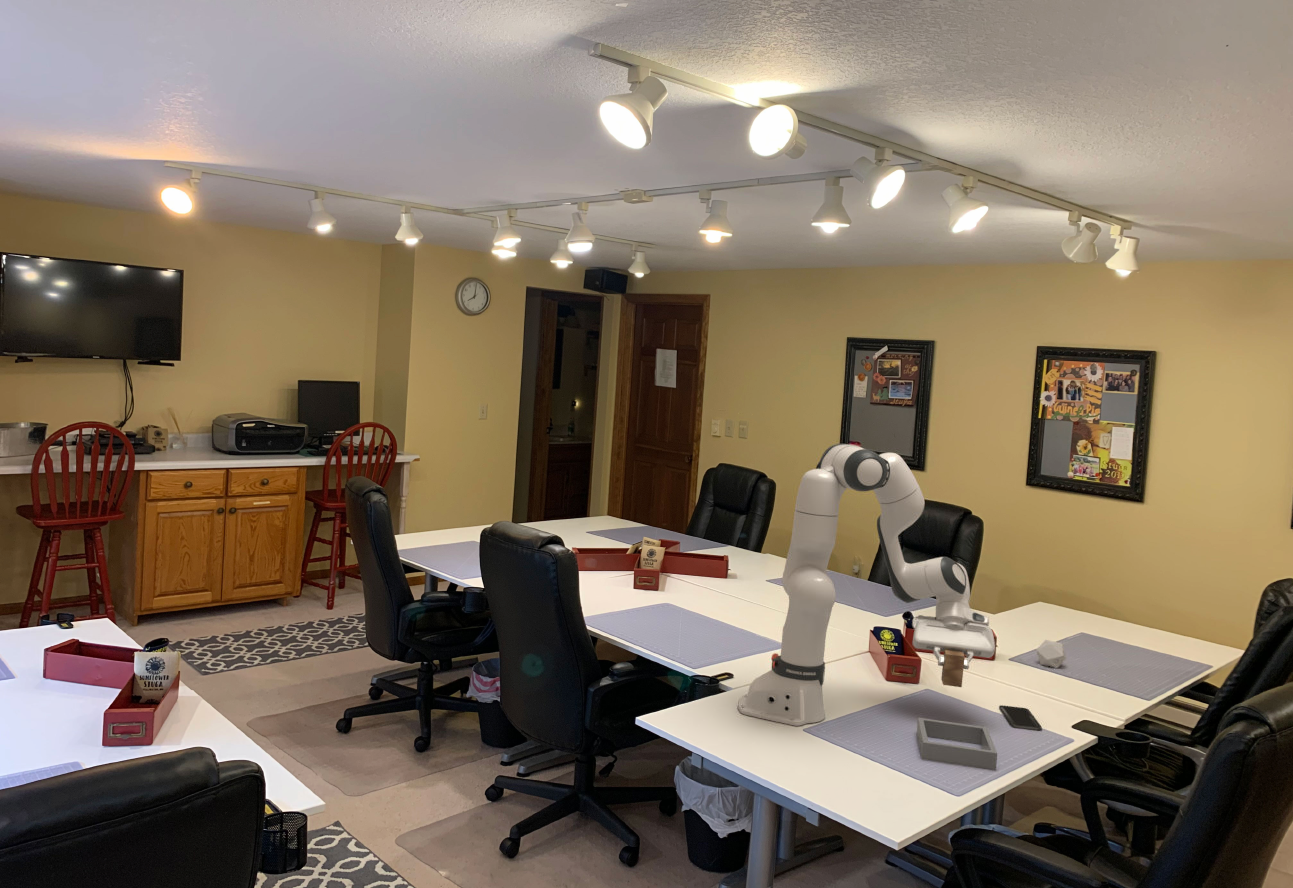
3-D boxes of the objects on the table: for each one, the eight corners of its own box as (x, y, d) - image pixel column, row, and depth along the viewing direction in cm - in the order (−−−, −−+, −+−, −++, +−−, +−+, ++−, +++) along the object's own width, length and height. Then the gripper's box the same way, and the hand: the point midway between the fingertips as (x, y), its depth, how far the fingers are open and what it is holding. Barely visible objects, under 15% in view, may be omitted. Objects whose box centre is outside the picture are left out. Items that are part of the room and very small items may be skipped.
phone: (1011, 724, 238) (998, 704, 253) (1011, 729, 238) (997, 708, 253) (1043, 728, 237) (1028, 708, 251) (1043, 732, 237) (1027, 712, 252)
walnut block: (943, 684, 233) (946, 654, 232) (941, 679, 237) (944, 649, 236) (961, 687, 232) (964, 656, 231) (959, 681, 236) (962, 651, 235)
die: (1048, 672, 291) (1070, 650, 289) (1027, 652, 296) (1048, 631, 295) (1053, 676, 297) (1075, 654, 296) (1033, 656, 302) (1053, 636, 301)
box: (921, 758, 213) (923, 742, 213) (916, 732, 229) (918, 717, 229) (995, 770, 210) (997, 753, 210) (985, 742, 226) (986, 727, 226)
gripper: (913, 608, 242) (912, 654, 233) (995, 618, 238) (997, 665, 229) (911, 620, 247) (909, 666, 238) (990, 630, 242) (992, 677, 234)
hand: (953, 666), depth 233 cm, fingers closed on walnut block, 4 cm apart
